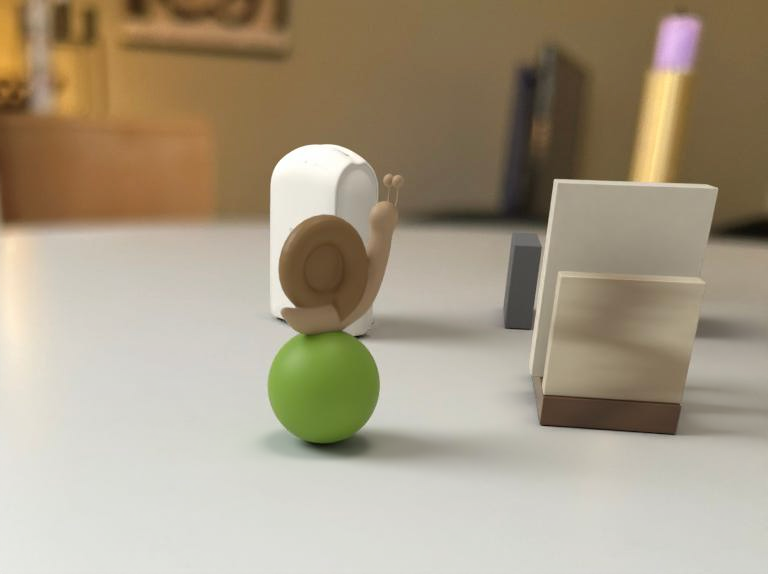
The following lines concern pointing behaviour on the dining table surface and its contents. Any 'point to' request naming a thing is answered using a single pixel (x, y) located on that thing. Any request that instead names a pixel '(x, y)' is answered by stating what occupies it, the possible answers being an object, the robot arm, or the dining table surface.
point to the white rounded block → (319, 204)
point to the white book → (620, 237)
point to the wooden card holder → (618, 351)
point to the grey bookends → (521, 280)
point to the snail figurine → (330, 323)
